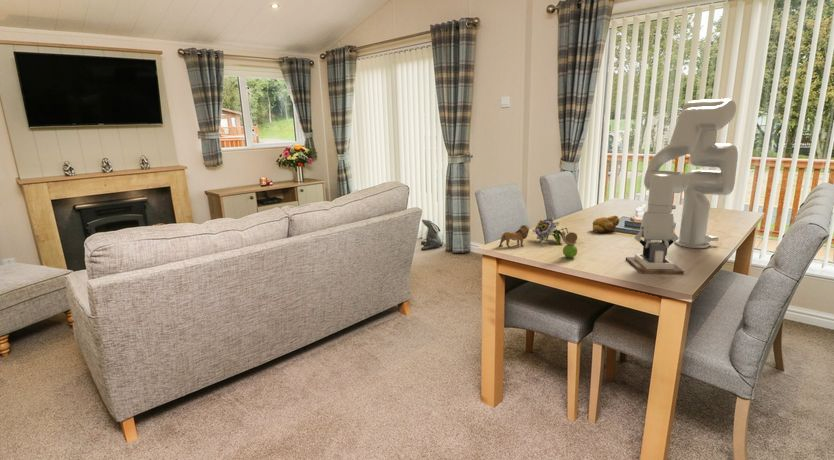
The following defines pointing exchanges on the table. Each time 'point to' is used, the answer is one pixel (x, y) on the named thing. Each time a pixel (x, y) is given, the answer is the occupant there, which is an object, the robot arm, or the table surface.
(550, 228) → the passion flower
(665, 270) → the brown piece
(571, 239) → the snail figurine
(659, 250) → the grey rectangular block
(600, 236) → the table surface
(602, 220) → the brown toad figurine
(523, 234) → the lion figurine
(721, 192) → the robot arm
